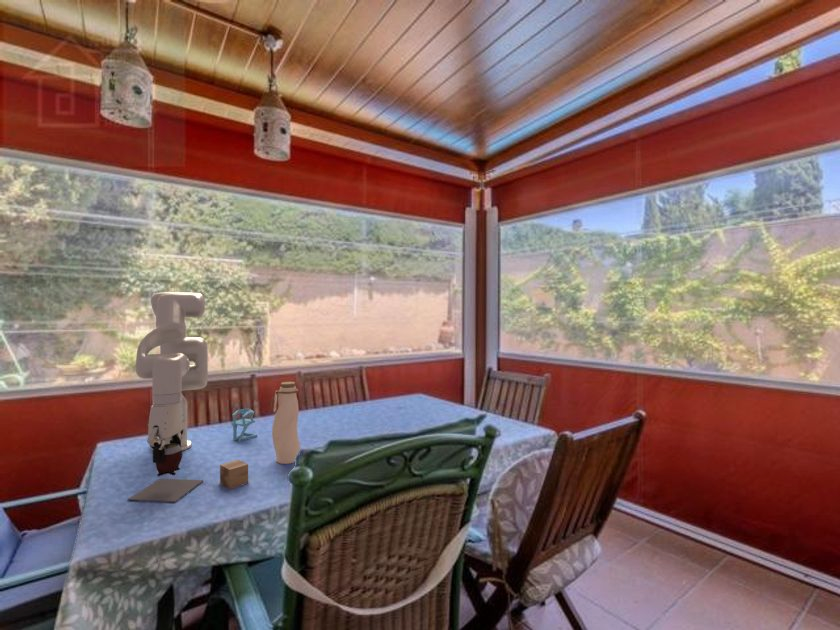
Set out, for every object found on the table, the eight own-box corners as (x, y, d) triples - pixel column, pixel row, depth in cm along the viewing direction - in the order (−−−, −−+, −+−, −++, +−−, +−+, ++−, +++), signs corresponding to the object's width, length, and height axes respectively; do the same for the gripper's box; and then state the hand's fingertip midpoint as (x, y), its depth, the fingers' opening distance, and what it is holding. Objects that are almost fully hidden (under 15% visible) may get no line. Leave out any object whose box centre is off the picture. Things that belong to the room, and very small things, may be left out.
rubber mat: (127, 500, 120) (127, 499, 120) (160, 480, 134) (160, 478, 134) (175, 502, 120) (175, 501, 120) (203, 481, 134) (203, 480, 134)
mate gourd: (186, 471, 128) (186, 422, 127) (159, 480, 121) (159, 428, 121) (173, 466, 132) (173, 418, 131) (146, 474, 125) (146, 424, 125)
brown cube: (219, 483, 133) (219, 464, 133) (238, 477, 138) (238, 459, 137) (229, 489, 129) (229, 469, 129) (248, 483, 134) (248, 464, 133)
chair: (228, 440, 173) (228, 411, 173) (242, 434, 181) (242, 406, 181) (243, 442, 171) (243, 413, 170) (257, 436, 179) (257, 408, 178)
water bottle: (272, 467, 146) (273, 386, 145) (268, 458, 154) (269, 381, 153) (302, 462, 151) (303, 384, 150) (297, 454, 159) (298, 380, 158)
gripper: (173, 392, 135) (173, 447, 135) (134, 405, 118) (134, 468, 118) (196, 392, 135) (196, 448, 135) (160, 406, 117) (160, 469, 118)
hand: (167, 457), depth 127 cm, fingers closed on mate gourd, 7 cm apart
